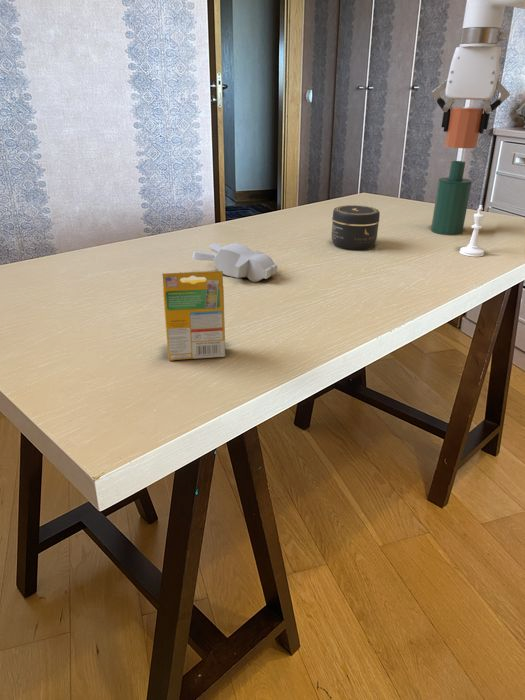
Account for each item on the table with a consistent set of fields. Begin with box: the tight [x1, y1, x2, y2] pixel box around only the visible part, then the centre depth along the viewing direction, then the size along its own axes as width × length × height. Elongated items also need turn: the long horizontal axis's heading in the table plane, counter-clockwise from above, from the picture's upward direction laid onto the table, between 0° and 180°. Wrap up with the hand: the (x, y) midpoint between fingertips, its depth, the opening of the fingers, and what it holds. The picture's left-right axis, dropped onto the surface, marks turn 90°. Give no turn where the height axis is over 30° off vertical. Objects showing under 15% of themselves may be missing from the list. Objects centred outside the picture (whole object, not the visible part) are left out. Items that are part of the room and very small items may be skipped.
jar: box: [331, 204, 381, 251], centre depth 114 cm, size 10×10×8 cm
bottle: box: [430, 160, 473, 236], centre depth 124 cm, size 7×7×16 cm
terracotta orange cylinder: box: [444, 106, 485, 149], centre depth 117 cm, size 7×7×8 cm
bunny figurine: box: [191, 242, 279, 283], centre depth 97 cm, size 10×5×15 cm
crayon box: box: [161, 270, 226, 362], centre depth 66 cm, size 7×3×12 cm, turn 99°
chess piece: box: [458, 204, 485, 258], centre depth 109 cm, size 5×5×10 cm
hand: (463, 131), depth 118 cm, fingers closed on terracotta orange cylinder, 6 cm apart
